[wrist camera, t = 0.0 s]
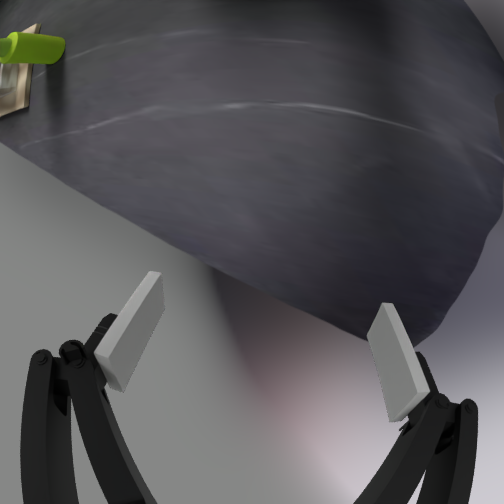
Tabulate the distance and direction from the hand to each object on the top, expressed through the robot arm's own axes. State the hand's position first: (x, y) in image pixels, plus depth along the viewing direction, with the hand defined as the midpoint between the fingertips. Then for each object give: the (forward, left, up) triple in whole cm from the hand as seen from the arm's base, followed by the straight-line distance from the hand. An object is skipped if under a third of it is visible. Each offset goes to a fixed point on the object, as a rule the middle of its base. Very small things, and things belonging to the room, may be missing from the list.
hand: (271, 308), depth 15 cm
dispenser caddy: (-25, -61, -28) cm, 72 cm away
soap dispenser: (-26, -44, -28) cm, 59 cm away
